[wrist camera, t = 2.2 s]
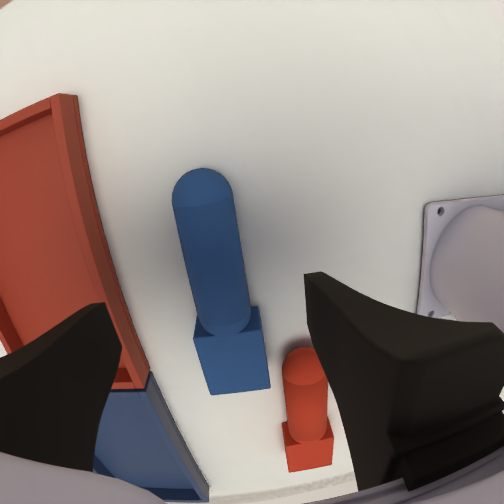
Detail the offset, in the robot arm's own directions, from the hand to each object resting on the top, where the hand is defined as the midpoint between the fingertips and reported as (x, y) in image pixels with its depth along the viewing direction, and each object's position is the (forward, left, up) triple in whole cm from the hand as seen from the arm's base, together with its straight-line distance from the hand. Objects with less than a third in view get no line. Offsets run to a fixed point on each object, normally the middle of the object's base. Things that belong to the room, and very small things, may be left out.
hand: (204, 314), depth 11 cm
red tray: (+11, -1, -6) cm, 13 cm away
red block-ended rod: (-4, +13, -6) cm, 15 cm away
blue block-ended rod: (0, +2, -6) cm, 7 cm away
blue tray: (+11, +17, -6) cm, 21 cm away
